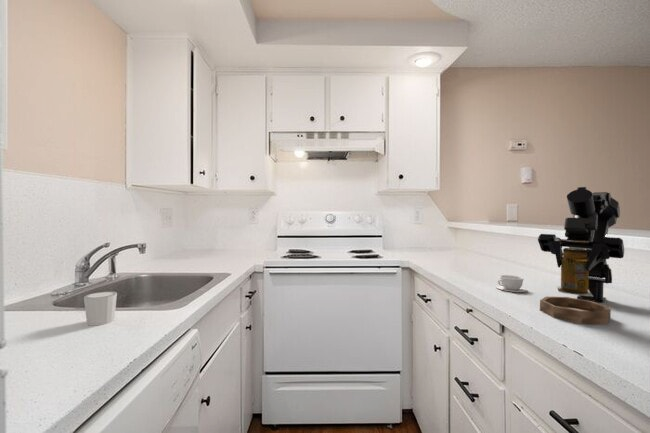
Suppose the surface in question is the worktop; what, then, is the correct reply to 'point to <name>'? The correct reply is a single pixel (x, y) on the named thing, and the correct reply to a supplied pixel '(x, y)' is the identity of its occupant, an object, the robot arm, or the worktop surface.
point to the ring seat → (575, 310)
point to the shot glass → (100, 308)
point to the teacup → (511, 283)
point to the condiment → (574, 272)
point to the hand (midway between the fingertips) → (572, 268)
